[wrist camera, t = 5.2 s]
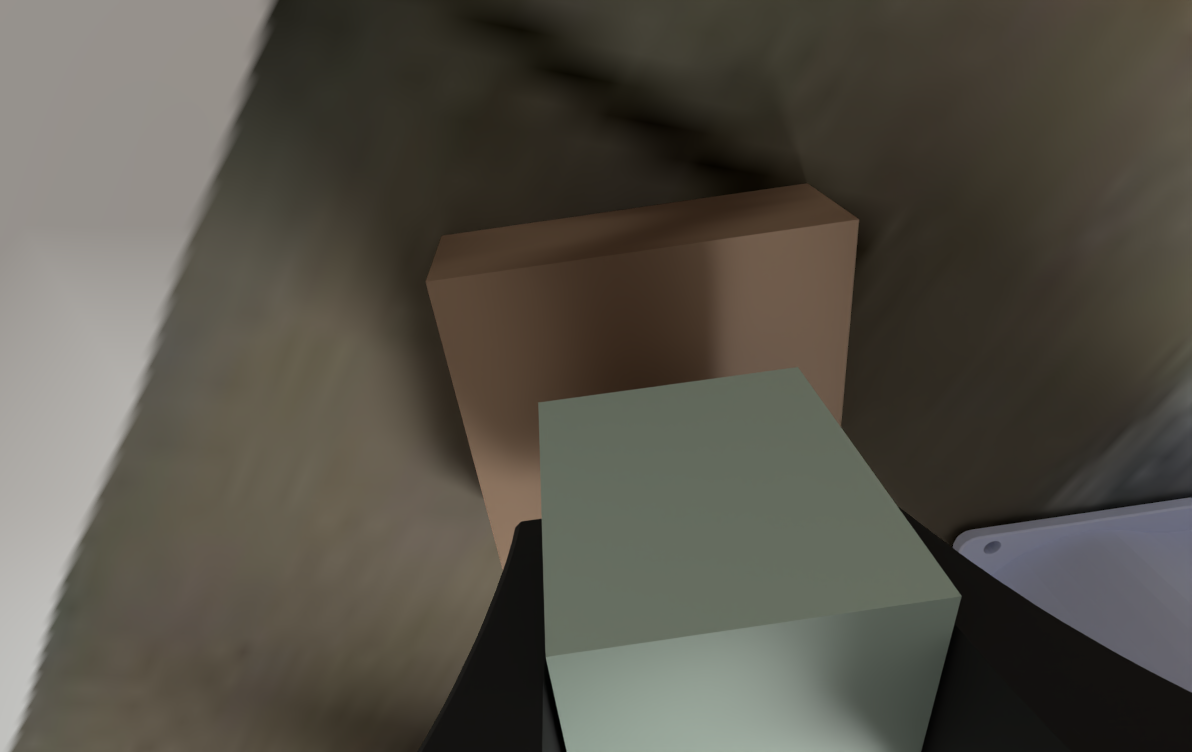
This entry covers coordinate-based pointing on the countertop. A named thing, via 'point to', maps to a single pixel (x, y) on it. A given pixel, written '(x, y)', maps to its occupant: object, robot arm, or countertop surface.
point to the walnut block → (635, 315)
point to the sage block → (731, 576)
